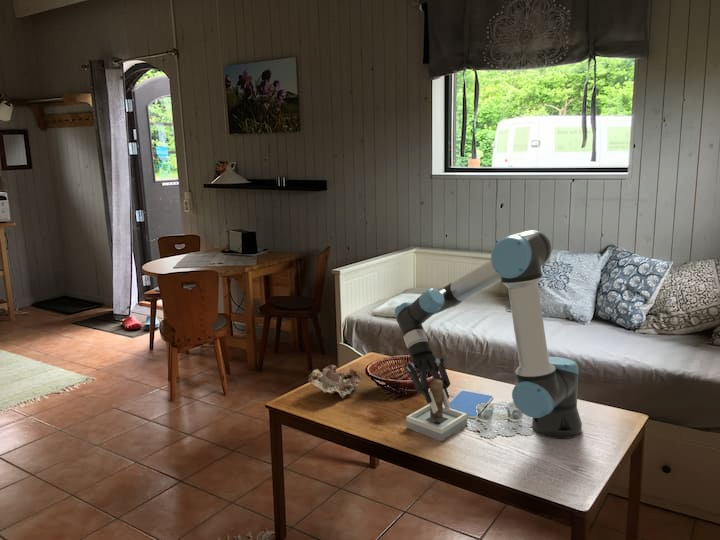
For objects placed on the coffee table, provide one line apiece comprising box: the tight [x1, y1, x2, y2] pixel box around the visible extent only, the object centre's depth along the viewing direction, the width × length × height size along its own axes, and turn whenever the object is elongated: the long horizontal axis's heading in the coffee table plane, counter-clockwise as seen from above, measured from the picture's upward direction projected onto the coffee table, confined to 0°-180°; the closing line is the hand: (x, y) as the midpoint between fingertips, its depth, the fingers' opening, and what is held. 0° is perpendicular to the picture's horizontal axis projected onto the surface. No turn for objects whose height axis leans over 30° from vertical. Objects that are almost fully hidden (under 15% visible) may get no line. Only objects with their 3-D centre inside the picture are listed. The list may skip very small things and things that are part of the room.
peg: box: [429, 378, 444, 419], centre depth 197 cm, size 4×4×12 cm
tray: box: [405, 403, 468, 442], centre depth 198 cm, size 14×14×4 cm
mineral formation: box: [307, 364, 361, 399], centre depth 228 cm, size 23×16×10 cm
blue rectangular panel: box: [449, 390, 494, 419], centre depth 214 cm, size 19×13×1 cm, turn 150°
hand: (442, 410), depth 194 cm, fingers closed on peg, 4 cm apart
